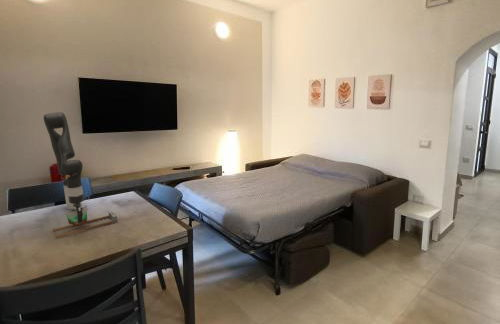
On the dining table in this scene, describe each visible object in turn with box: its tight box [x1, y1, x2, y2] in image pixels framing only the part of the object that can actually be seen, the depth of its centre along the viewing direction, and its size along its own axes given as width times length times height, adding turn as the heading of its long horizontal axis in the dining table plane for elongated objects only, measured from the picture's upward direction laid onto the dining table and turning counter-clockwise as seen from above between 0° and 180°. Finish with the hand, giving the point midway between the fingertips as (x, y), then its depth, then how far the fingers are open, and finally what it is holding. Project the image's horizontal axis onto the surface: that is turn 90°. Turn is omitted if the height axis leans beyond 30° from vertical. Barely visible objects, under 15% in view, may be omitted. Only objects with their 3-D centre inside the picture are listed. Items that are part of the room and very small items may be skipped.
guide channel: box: [52, 211, 118, 239], centre depth 172 cm, size 11×32×4 cm, turn 131°
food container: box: [64, 205, 89, 228], centre depth 168 cm, size 12×6×10 cm, turn 142°
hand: (79, 220), depth 169 cm, fingers closed on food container, 5 cm apart
